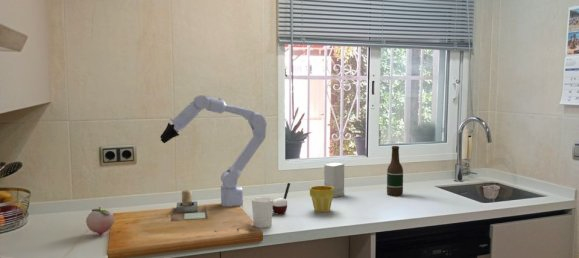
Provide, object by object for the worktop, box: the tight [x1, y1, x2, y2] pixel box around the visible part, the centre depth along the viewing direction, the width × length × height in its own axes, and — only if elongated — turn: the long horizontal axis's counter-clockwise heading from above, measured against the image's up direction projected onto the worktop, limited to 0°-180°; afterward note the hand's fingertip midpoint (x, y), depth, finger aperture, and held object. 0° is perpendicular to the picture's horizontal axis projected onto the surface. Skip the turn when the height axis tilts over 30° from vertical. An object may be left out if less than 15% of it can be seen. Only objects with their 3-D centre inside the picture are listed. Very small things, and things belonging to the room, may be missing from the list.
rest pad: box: [184, 212, 205, 221], centre depth 178 cm, size 8×8×1 cm
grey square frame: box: [175, 200, 198, 213], centre depth 187 cm, size 8×8×2 cm
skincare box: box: [323, 162, 345, 199], centre depth 219 cm, size 8×7×16 cm
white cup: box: [251, 196, 274, 229], centre depth 170 cm, size 8×8×10 cm
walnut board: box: [170, 205, 209, 222], centre depth 183 cm, size 14×21×2 cm, turn 12°
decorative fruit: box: [85, 206, 115, 235], centre depth 159 cm, size 9×8×10 cm
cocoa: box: [272, 182, 291, 215], centre depth 187 cm, size 10×6×12 cm, turn 102°
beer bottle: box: [386, 145, 404, 198], centre depth 219 cm, size 8×8×24 cm
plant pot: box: [309, 185, 334, 213], centre depth 191 cm, size 10×10×10 cm
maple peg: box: [181, 189, 193, 206], centre depth 187 cm, size 4×4×8 cm
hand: (162, 140), depth 189 cm, fingers open, 7 cm apart
